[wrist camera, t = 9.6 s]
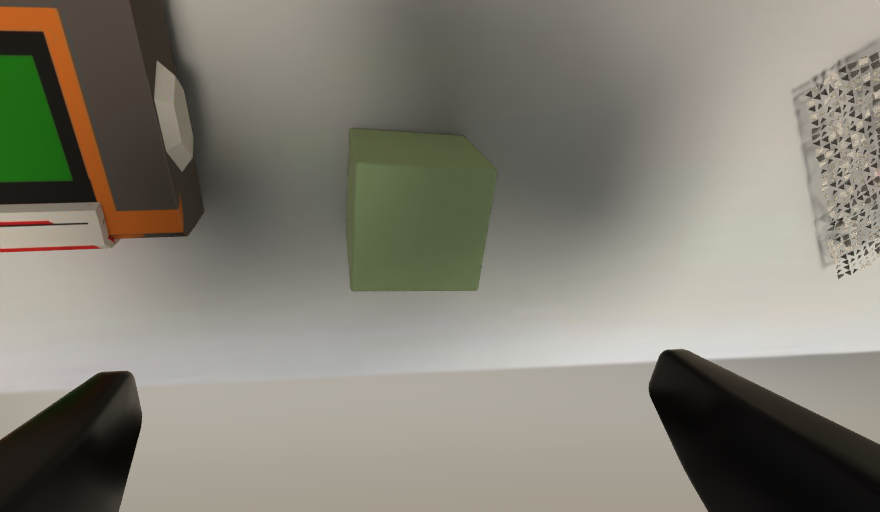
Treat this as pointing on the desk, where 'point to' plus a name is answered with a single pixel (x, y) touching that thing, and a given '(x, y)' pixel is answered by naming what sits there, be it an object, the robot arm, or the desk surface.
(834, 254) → the rug
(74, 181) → the electronic device
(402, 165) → the block
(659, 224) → the desk surface
